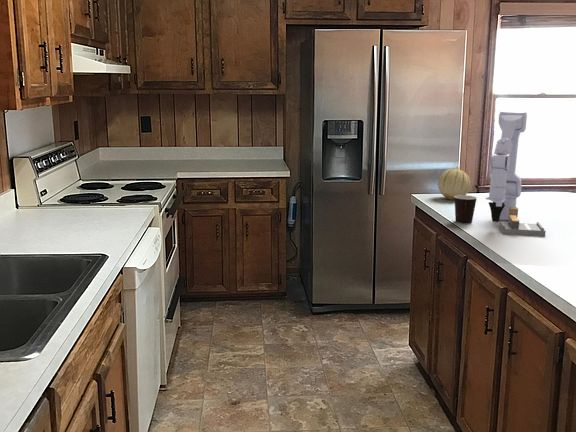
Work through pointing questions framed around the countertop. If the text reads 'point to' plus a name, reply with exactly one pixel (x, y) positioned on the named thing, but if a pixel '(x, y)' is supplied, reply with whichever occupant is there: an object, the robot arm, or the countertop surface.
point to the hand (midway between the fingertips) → (495, 221)
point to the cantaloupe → (453, 183)
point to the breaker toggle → (513, 221)
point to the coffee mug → (464, 208)
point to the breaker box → (522, 229)
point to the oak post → (513, 212)
